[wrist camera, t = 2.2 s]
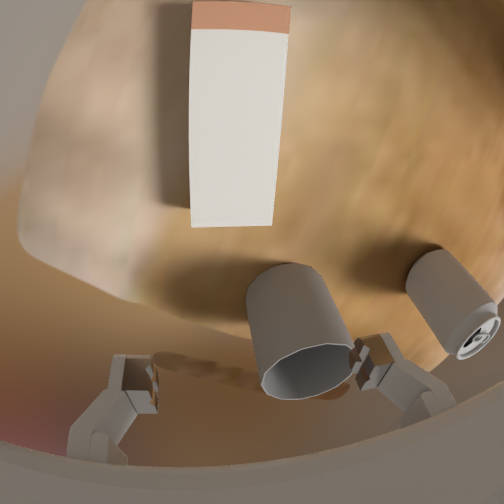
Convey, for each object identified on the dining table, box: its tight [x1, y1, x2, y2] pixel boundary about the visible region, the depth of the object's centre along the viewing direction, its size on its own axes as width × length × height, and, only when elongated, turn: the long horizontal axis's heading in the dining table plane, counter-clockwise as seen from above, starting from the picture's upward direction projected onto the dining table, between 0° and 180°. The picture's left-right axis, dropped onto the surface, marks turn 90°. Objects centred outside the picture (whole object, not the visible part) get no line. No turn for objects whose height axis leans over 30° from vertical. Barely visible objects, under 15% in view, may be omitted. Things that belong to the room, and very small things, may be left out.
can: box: [406, 249, 501, 360], centre depth 28 cm, size 8×8×12 cm
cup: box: [245, 263, 355, 400], centre depth 28 cm, size 8×8×10 cm
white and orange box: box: [189, 1, 291, 228], centre depth 20 cm, size 6×16×3 cm, turn 177°
